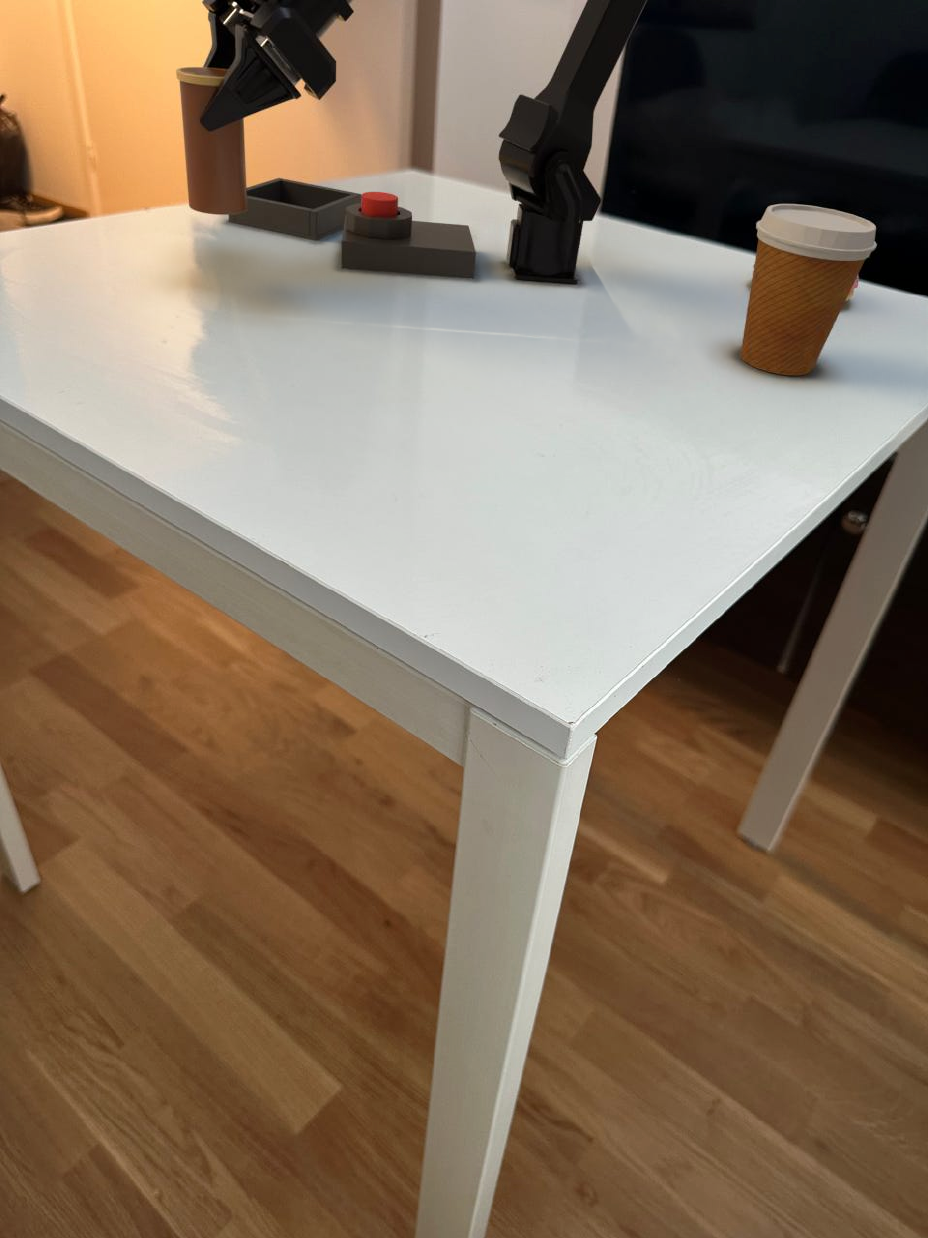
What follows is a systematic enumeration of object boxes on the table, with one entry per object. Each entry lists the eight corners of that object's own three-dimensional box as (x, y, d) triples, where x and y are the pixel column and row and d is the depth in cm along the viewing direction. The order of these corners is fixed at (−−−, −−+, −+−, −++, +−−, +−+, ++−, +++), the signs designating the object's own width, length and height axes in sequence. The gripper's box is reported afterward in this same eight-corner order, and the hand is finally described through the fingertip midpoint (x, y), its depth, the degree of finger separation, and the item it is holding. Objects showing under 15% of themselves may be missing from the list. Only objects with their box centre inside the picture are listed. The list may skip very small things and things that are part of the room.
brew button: (397, 211, 94) (398, 193, 93) (397, 220, 91) (398, 201, 90) (361, 208, 93) (362, 190, 92) (360, 217, 90) (361, 198, 89)
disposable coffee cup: (773, 388, 76) (821, 235, 69) (699, 346, 82) (736, 202, 75) (855, 377, 80) (908, 232, 73) (778, 338, 86) (820, 201, 79)
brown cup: (255, 203, 81) (250, 71, 75) (242, 218, 76) (236, 79, 71) (195, 197, 80) (185, 64, 74) (179, 211, 76) (167, 72, 70)
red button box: (466, 251, 100) (470, 207, 97) (473, 279, 92) (477, 232, 89) (344, 241, 98) (345, 196, 95) (341, 269, 90) (342, 220, 88)
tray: (361, 222, 105) (362, 193, 103) (316, 241, 97) (316, 211, 95) (279, 205, 108) (278, 177, 106) (228, 223, 99) (227, 193, 98)
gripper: (221, -139, 73) (93, 17, 75) (292, -140, 60) (134, 49, 62) (317, -11, 81) (198, 128, 83) (398, 13, 68) (255, 177, 70)
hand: (196, 120), depth 74 cm, fingers closed on brown cup, 5 cm apart
